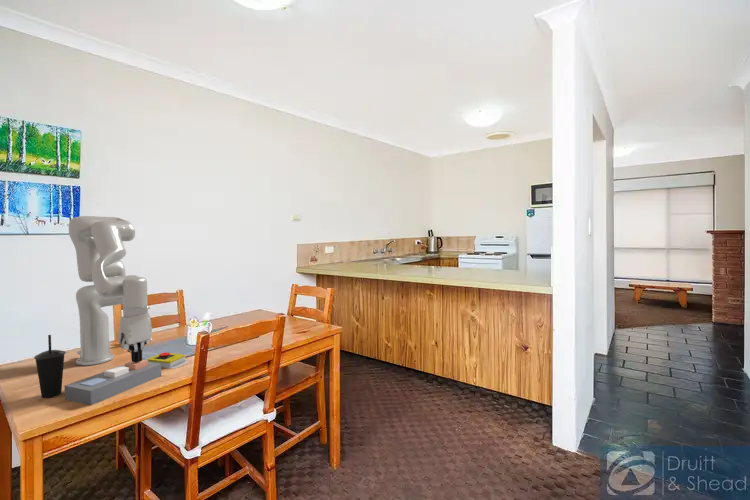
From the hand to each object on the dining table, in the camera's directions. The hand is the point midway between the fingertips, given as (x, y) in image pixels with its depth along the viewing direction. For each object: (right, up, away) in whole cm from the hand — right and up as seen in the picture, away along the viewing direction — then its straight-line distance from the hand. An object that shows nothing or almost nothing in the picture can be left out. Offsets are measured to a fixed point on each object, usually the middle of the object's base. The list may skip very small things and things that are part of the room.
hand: (136, 361), depth 134 cm
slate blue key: (-5, -6, -14) cm, 16 cm away
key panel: (-3, -7, -7) cm, 10 cm away
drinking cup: (-19, -7, -14) cm, 25 cm away
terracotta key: (0, -3, 0) cm, 3 cm away
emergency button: (+2, -7, +16) cm, 18 cm away
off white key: (-3, -4, -7) cm, 8 cm away
